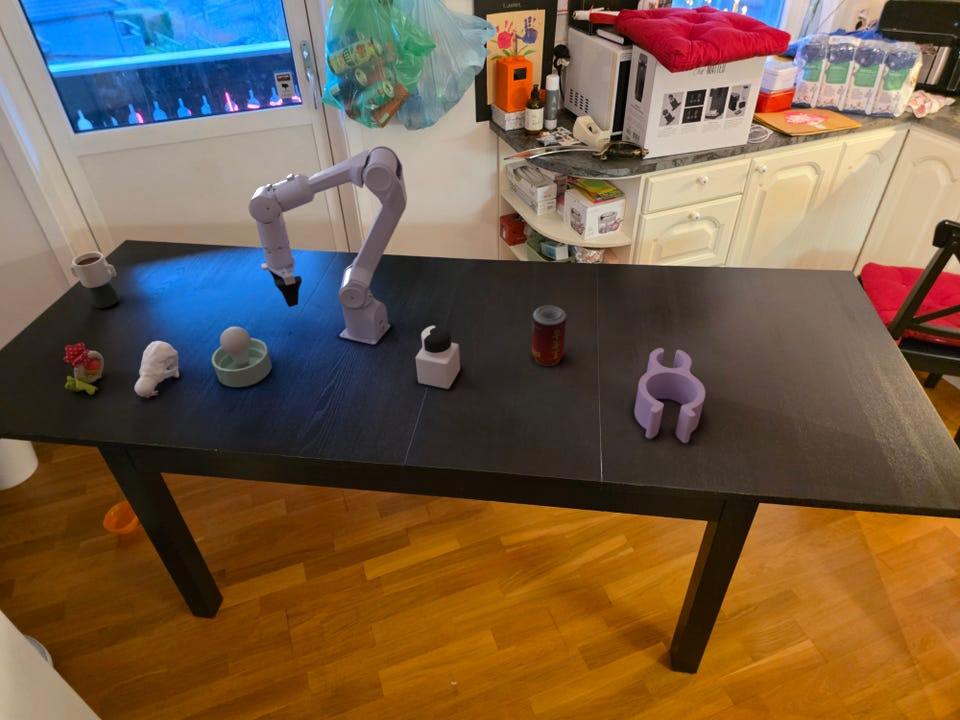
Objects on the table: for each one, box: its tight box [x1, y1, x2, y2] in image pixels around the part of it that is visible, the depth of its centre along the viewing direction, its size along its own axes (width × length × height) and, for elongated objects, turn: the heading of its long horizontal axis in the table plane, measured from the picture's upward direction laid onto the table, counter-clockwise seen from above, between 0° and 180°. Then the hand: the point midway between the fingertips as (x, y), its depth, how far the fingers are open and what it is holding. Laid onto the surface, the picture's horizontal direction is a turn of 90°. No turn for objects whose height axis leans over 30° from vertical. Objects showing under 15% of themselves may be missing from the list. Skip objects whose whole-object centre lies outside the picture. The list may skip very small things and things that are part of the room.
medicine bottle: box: [415, 324, 461, 390], centre depth 138 cm, size 7×7×12 cm
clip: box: [633, 347, 706, 444], centre depth 131 cm, size 20×12×7 cm, turn 169°
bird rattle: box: [62, 342, 105, 395], centre depth 140 cm, size 6×11×9 cm
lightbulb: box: [219, 326, 252, 369], centre depth 141 cm, size 6×6×11 cm
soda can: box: [531, 304, 567, 367], centre depth 142 cm, size 7×7×12 cm
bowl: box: [211, 337, 273, 388], centre depth 143 cm, size 12×12×5 cm
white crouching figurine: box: [134, 340, 180, 399], centre depth 140 cm, size 6×8×12 cm
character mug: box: [69, 251, 121, 309], centre depth 164 cm, size 11×7×13 cm, turn 88°
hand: (288, 297), depth 149 cm, fingers open, 7 cm apart
